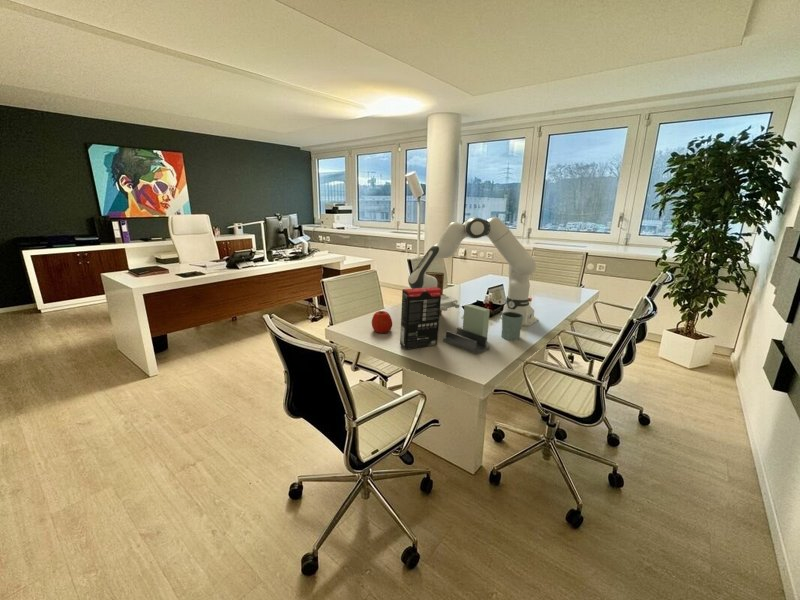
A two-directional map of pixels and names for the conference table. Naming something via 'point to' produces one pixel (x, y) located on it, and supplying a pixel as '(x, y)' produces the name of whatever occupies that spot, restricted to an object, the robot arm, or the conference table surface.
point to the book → (440, 281)
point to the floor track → (467, 341)
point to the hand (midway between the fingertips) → (452, 307)
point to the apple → (382, 322)
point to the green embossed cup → (511, 325)
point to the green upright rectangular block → (476, 319)
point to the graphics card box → (420, 317)
